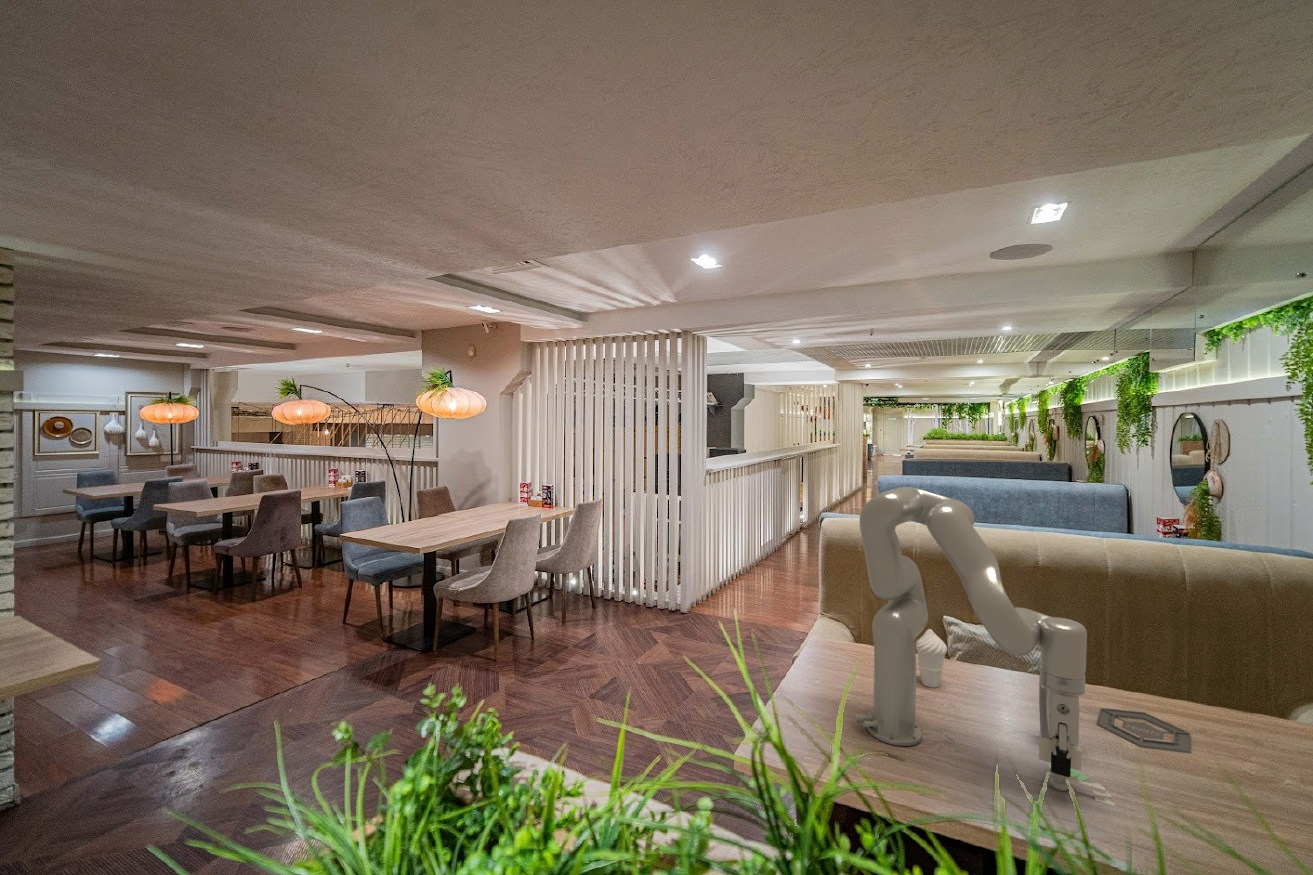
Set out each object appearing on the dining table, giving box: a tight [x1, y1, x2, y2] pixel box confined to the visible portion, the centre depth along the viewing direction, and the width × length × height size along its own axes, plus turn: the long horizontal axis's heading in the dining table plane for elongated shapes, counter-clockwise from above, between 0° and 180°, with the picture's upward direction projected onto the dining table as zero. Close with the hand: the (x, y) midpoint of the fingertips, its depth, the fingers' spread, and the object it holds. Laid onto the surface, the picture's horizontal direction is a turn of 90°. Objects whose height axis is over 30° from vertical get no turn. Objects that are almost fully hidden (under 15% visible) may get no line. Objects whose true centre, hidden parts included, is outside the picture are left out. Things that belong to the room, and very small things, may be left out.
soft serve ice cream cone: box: [914, 628, 948, 689], centre depth 163 cm, size 8×8×16 cm
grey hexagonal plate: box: [1095, 707, 1192, 754], centre depth 140 cm, size 17×20×1 cm
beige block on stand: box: [1038, 736, 1106, 794], centre depth 115 cm, size 11×3×9 cm, turn 57°
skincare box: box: [1038, 675, 1075, 746], centre depth 131 cm, size 8×7×16 cm
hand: (1059, 764), depth 116 cm, fingers open, 5 cm apart
